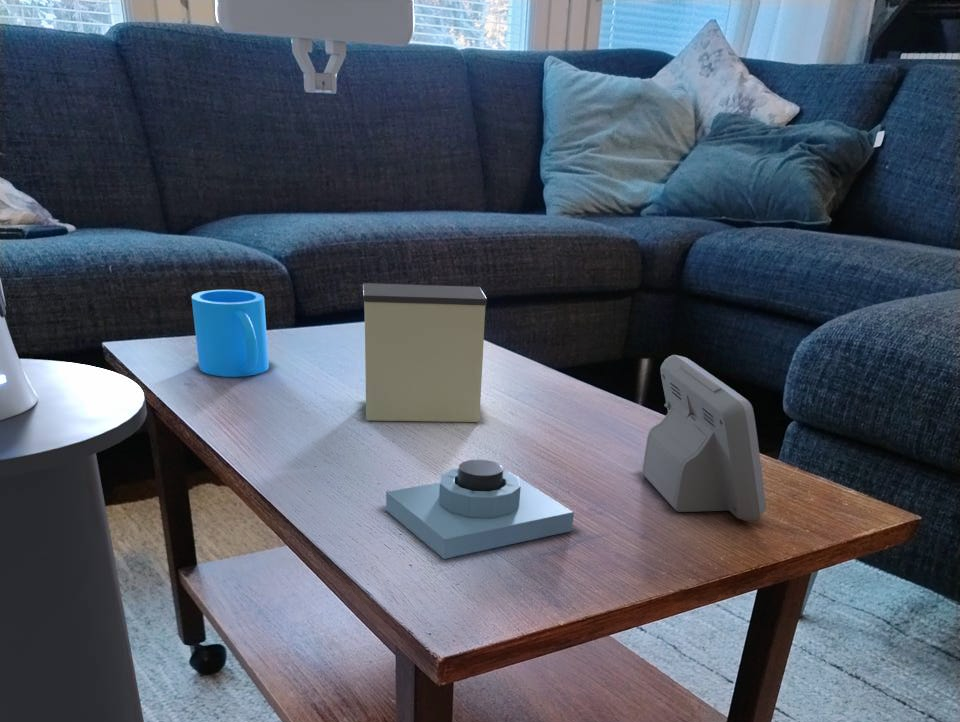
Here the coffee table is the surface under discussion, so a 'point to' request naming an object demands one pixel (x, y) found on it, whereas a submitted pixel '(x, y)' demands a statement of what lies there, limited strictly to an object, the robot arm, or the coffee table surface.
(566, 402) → the coffee table surface
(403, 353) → the box
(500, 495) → the box
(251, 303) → the mug
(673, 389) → the digital clock
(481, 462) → the timer button
